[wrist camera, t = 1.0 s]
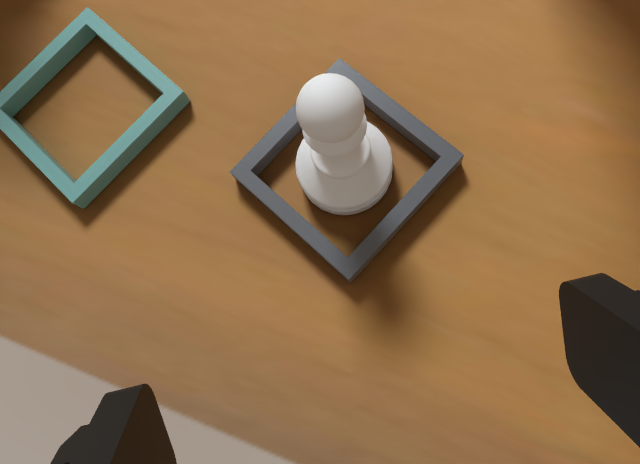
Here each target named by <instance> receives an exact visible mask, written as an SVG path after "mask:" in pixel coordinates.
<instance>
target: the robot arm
mask: <svg viewBox="0 0 640 464" xmlns="http://www.w3.org/2000/svg"><path fill="white" fill-rule="evenodd" d="M559 300H560V309H561V318H562V326H563V335H564V344H565V352H566V359H567V363H568V366H569V369H570V372H571V374H572V376H573V378H574V380H575V381H576V383H577V385H578V386H579V387H580V388H581V389H582V390H583V391H584V392H585V393H586V394H587V395H588V396H589V397H590V398H591V399H592V400H593V401H594V402H595V403H596V404H597V405H598V406H599V407H600V408H601V409H602V410H603V411H604V412H605V413H606V414H607V415H608V416H609V417H610V418H611V419H612V420H613V421H614V422H615V423H616V424H617V425H618V426H619V427H620V428H621V429H622V430H623V431H624V432H625V433H626V434H627V435H628V436H629V437H630V438H631V439H632V440H633V441H634V442H635V443H636V444H637V445H638V446H639V447H640V291H639V290H637V291H634V290H632V289H630V288H629V287H627V286H625V285H623V284H622V283H620V282H618V281H617V280H615V279H613V278H611V277H610V276H608V275H606V274H604V273H599V274H595V275H591V276H586V277H582V278H578V279H574V280H570V281H566V282H563V283H562V284H561V285H560V289H559ZM51 464H177V463H176V458H175V454H174V451H173V448H172V445H171V442H170V439H169V436H168V433H167V431H166V428H165V425H164V422H163V419H162V416H161V413H160V410H159V407H158V404H157V401H156V398H155V396H154V393H153V391H152V389H151V387H150V386H149V385H148V384H142V385H137V386H133V387H129V388H125V389H121V390H117V391H113V392H109V393H106V394H105V395H104V397H103V398H102V400H101V402H100V404H99V406H98V408H97V410H96V412H95V414H94V416H93V418H92V420H91V422H90V424H88V425H84V426H81V427H80V428H79V429H78V430H77V431H76V432H75V433H74V434H73V435H72V436H71V437H70V438H68V439H67V440H66V441H65V442H64V443H63V444H62V445H61V446H60V448H59V449H58V451H57V453H56V455H55V457H54V459H53V460H52V462H51Z"/></svg>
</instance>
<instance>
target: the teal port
mask: <svg viewBox="0 0 640 464" xmlns="http://www.w3.org/2000/svg"><path fill="white" fill-rule="evenodd" d="M96 35H97V36H98V37H99V38H100V39H101V40H102V41H103V42H105V43H106V44H107V45H108V46H109V47H110V48H111V49H112V50H113V51H115V52H116V53H117V54H118V55H119V56H120V57H121V58H122V59H124V60H125V61H126V62H127V63H128V64H129V65H130V66H131V67H132V68H134V69H135V70H136V71H137V72H138V73H139V74H140V75H141V76H143V77H144V78H145V79H146V80H147V81H148V82H149V83H150V84H151V85H153V86H154V87H155V88H156V89H157V90H158V91H159V92H160V93H162V95H161V96H160V97H159V98H158V99H157V100H156V101H155V102H154V103H153V104H152V105H151V106H150V107H149V108H148V109H147V110H146V111H145V112H144V113H143V114H142V115H141V116H140V117H139V118H138V119H137V120H136V121H135V122H134V123H133V124H132V125H131V126H130V127H129V128H128V129H127V130H126V131H125V132H124V133H123V134H122V135H121V136H120V137H119V138H118V139H117V141H116V142H115V143H114V144H113V145H112V146H111V147H110V148H109V149H108V150H107V151H106V152H105V153H104V154H103V155H102V156H101V157H100V158H99V159H98V160H97V161H96V162H95V163H94V164H93V165H92V166H91V167H90V168H89V169H88V170H87V171H86V172H85V173H84V174H83V175H82V176H81V177H80V178H79V179H78V180H77V181H76V180H75V179H74V178H73V177H72V176H71V175H70V174H69V173H68V172H67V171H66V170H65V169H64V168H63V167H62V166H61V165H60V164H59V163H58V162H57V161H56V160H55V159H54V158H53V157H52V156H51V155H50V154H49V153H48V152H47V151H46V150H45V149H44V148H43V147H42V146H41V145H40V144H39V143H38V142H37V141H36V140H35V139H34V138H33V137H32V136H31V135H30V134H29V133H28V132H27V131H26V130H25V129H24V128H23V127H22V126H21V125H20V124H19V123H18V121H17V120H16V119H15V118H14V117H13V116H14V115H15V114H16V113H17V112H18V111H19V110H21V109H22V108H23V107H24V106H25V105H26V104H27V103H28V102H29V101H30V100H31V99H32V98H33V97H34V96H35V95H36V94H37V93H38V92H39V91H40V90H41V89H42V88H43V87H44V86H45V85H46V84H47V83H48V82H49V81H50V80H51V79H52V78H53V77H54V76H55V75H56V74H57V73H58V72H59V71H60V70H61V69H62V68H63V67H65V66H66V65H67V64H68V63H69V62H70V61H71V60H72V59H73V58H74V57H75V56H76V55H77V54H78V53H79V52H80V51H81V50H82V49H83V48H84V47H85V46H86V45H87V44H88V43H89V42H90V41H91V40H92V39H93V38H94V37H95V36H96ZM189 102H190V99H189V98H188V97H187V96H186V94H185V93H184V92H183V91H182V90H181V89H180V88H179V87H178V86H177V85H176V84H174V83H173V82H172V81H171V80H170V79H169V78H168V77H167V76H165V75H164V74H163V73H162V72H161V71H160V70H159V69H157V68H156V67H155V66H154V65H153V64H152V63H151V62H149V61H148V60H147V59H146V58H145V57H144V56H143V55H142V54H140V53H139V52H138V51H137V50H136V49H135V48H134V47H132V46H131V45H130V44H129V43H128V42H127V41H126V40H124V39H123V38H122V37H121V36H120V35H119V34H118V33H117V32H115V31H114V30H113V29H112V28H111V27H110V26H109V25H107V24H106V23H105V22H104V21H103V20H102V19H101V18H99V17H98V16H97V15H96V14H95V13H94V12H93V11H92V10H90V9H89V8H88V7H87V8H86V9H85V10H84V11H83V12H82V13H81V14H80V15H79V16H78V17H77V18H76V19H75V20H74V21H72V22H71V23H70V24H69V25H68V26H67V27H66V28H65V29H64V30H63V31H62V32H61V33H60V34H59V35H58V36H57V37H56V38H55V39H54V40H53V41H52V42H51V43H50V44H49V45H48V46H47V47H46V48H45V49H44V50H43V51H42V52H41V53H39V54H38V55H37V56H36V57H35V58H34V59H33V60H32V61H31V62H30V63H29V64H28V65H27V66H26V67H25V68H24V69H23V70H22V71H21V72H20V73H19V74H18V75H17V76H16V77H15V78H14V79H13V80H12V81H11V82H10V83H9V84H8V85H7V86H5V87H4V88H3V89H2V90H1V91H0V129H1V130H2V131H3V132H4V133H5V134H6V135H7V136H8V137H9V138H10V139H11V141H12V142H13V143H14V144H15V145H16V146H17V147H18V148H19V149H20V150H21V151H22V152H23V153H24V154H25V155H26V156H27V157H28V158H29V159H30V160H31V161H32V162H33V163H34V164H35V165H36V166H37V167H38V168H39V169H40V170H41V171H42V172H43V173H44V175H45V176H46V177H47V178H48V179H49V180H50V181H51V182H52V183H53V184H54V185H55V186H56V187H57V188H58V189H59V190H60V191H61V192H62V193H63V194H64V195H65V196H66V197H67V198H68V199H69V200H70V201H71V202H72V203H73V204H75V205H77V206H79V207H81V208H83V209H85V208H86V207H87V206H88V205H89V203H90V202H91V201H92V200H93V199H94V198H95V197H96V196H97V195H98V194H99V193H100V192H101V191H102V190H103V189H104V188H105V187H106V186H107V185H108V184H109V183H110V182H111V181H112V180H113V179H114V178H115V177H116V176H117V175H118V174H119V173H120V172H121V171H122V170H123V169H124V168H125V167H126V166H127V165H128V164H129V163H130V162H131V161H132V160H133V159H134V158H135V157H136V156H137V155H138V154H139V153H140V152H141V151H142V150H143V149H144V148H145V147H146V146H147V145H148V144H149V143H150V142H151V141H152V140H153V139H154V138H155V137H156V136H157V135H158V134H159V133H160V132H161V131H162V130H163V129H164V128H165V127H166V126H167V125H168V124H169V123H170V122H171V121H172V120H173V118H174V117H175V116H176V115H177V114H178V113H179V112H180V111H181V110H182V109H183V108H184V107H185V106H186V105H187V104H188V103H189Z"/></svg>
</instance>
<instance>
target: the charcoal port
mask: <svg viewBox="0 0 640 464" xmlns="http://www.w3.org/2000/svg"><path fill="white" fill-rule="evenodd" d="M326 73H334V74H339V75H342V76H345V77H347V78H348V79H350V80H351V81H353V82H354V84H355V85H356V86H357V87H358V88H359V90H360V92H361V94H362V96H363V100H364V105H365V106H366V107H367V108H369V109H370V110H371V111H372V112H374V113H375V114H376V115H377V116H379V117H380V118H381V119H382V120H384V121H385V122H386V123H388V124H389V125H390V126H391V127H393V128H394V129H395V130H396V131H398V132H399V133H400V134H401V135H403V136H404V137H405V138H406V139H408V140H409V141H410V142H411V143H413V144H414V145H415V146H417V147H418V148H419V149H420V150H422V151H423V152H424V153H425V154H427V155H428V156H429V157H430V158H432V159H433V160H434V161H435V164H434V165H433V166H432V167H431V168H430V169H429V170H428V171H427V172H426V173H425V174H424V175H423V177H422V178H421V179H420V180H419V181H418V182H417V183H416V184H415V185H414V186H413V187H412V188H411V190H410V191H409V192H408V193H407V194H406V195H405V196H404V197H403V198H402V199H401V200H400V201H399V203H398V204H397V205H396V206H395V207H394V208H393V209H392V210H391V211H390V212H389V213H388V214H387V215H386V217H385V218H384V219H383V220H382V221H381V222H380V223H379V224H378V225H377V226H376V227H375V228H374V230H373V231H372V232H371V233H370V234H369V235H368V236H367V237H366V238H365V239H364V240H363V241H362V243H361V244H360V245H359V246H358V247H357V248H356V249H355V250H354V251H353V252H352V253H351V254H350V256H349V257H347V256H346V255H345V254H343V253H342V252H341V251H340V250H339V249H338V248H337V247H336V246H334V245H333V244H332V243H331V242H330V241H329V240H328V239H327V238H326V237H324V236H323V235H322V234H321V233H320V232H319V231H318V230H317V229H315V228H314V227H313V226H312V225H311V224H310V223H309V222H308V221H306V220H305V219H304V218H303V217H302V216H301V215H300V214H299V213H298V212H296V211H295V210H294V209H293V208H292V207H291V206H290V205H289V204H287V203H286V202H285V201H284V200H283V199H282V198H281V197H280V196H278V195H277V194H276V193H275V192H274V191H273V190H272V189H271V188H270V187H268V186H267V185H266V184H265V183H264V182H263V181H262V180H261V179H259V178H258V177H257V176H258V175H259V174H260V173H261V172H262V171H263V170H264V169H265V168H266V167H267V166H268V165H269V163H270V162H271V161H272V160H273V159H274V158H275V157H276V156H277V155H278V154H279V153H280V152H281V151H282V150H283V149H284V148H285V147H286V146H287V145H288V144H289V143H290V142H291V141H292V140H293V138H294V137H295V136H296V135H297V134H298V133H299V132H300V131H301V130H302V128H301V126H300V124H299V122H298V119H297V115H296V104H295V105H294V106H293V107H292V108H291V109H290V110H289V111H288V112H287V113H286V114H285V115H284V116H283V117H282V118H281V119H280V120H279V121H278V122H277V123H276V124H275V125H274V126H273V127H272V128H271V130H270V131H269V132H268V133H267V134H266V135H265V136H264V137H263V138H262V139H261V140H260V141H259V142H258V143H257V144H256V145H255V146H254V147H253V148H252V149H251V150H250V151H249V152H248V153H247V154H246V155H245V156H244V157H243V159H242V160H241V161H240V162H239V163H238V164H237V165H236V166H235V167H234V168H233V169H232V170H231V171H230V173H231V174H232V176H233V177H234V178H235V179H236V180H237V181H238V182H239V183H240V184H241V185H243V186H244V187H245V188H246V189H247V190H248V191H249V192H250V193H251V194H252V195H254V196H255V197H256V198H257V199H258V200H259V201H260V202H261V203H262V204H263V205H265V206H266V207H267V208H268V209H269V210H270V211H271V212H272V213H273V214H274V215H276V216H277V217H278V218H279V219H280V220H281V221H282V222H283V223H284V224H285V225H287V226H288V227H289V228H290V229H291V230H292V231H293V232H294V233H295V234H297V235H298V236H299V237H300V238H301V239H302V240H303V241H304V242H305V243H306V244H308V245H309V246H310V247H311V248H312V249H313V250H314V251H315V252H316V253H317V254H319V255H320V256H321V257H322V258H323V259H324V260H325V261H326V262H327V263H328V264H330V265H331V266H332V267H333V268H334V269H335V270H336V271H337V272H338V273H340V274H341V275H342V276H343V277H344V278H345V279H346V280H347V281H348V282H349V283H352V282H353V280H354V279H355V278H356V277H357V276H358V275H359V274H360V273H361V272H362V271H363V270H364V268H365V267H366V266H367V265H368V264H369V263H370V262H371V261H372V260H373V259H374V258H375V256H376V255H377V254H378V253H379V252H380V251H381V250H382V249H383V248H384V247H385V246H386V244H387V243H388V242H389V241H390V240H391V239H392V238H393V237H394V236H395V235H396V234H397V233H398V231H399V230H400V229H401V228H402V227H403V226H404V225H405V224H406V223H407V222H408V221H409V219H410V218H411V217H412V216H413V215H414V214H415V213H416V212H417V211H418V210H419V209H420V207H421V206H422V205H423V204H424V203H425V202H426V201H427V200H428V199H429V198H430V197H431V195H432V194H433V193H434V192H435V191H436V190H437V189H438V188H439V187H440V186H441V185H442V184H443V182H444V181H445V180H446V179H447V178H448V177H449V176H450V175H451V174H452V173H453V172H454V170H455V169H456V168H457V167H458V166H459V165H460V164H461V162H462V159H463V156H464V154H462V153H461V152H460V151H458V150H457V149H456V148H455V147H453V146H452V145H451V144H449V143H448V142H447V141H446V140H444V139H443V138H442V137H440V136H439V135H438V134H437V133H435V132H434V131H433V130H431V129H430V128H429V127H428V126H426V125H425V124H424V123H422V122H421V121H420V120H418V119H417V118H416V117H415V116H413V115H412V114H411V113H409V112H408V111H407V110H406V109H404V108H403V107H402V106H400V105H399V104H398V103H397V102H395V101H394V100H393V99H391V98H390V97H389V96H388V95H386V94H385V93H384V92H382V91H381V90H380V89H379V88H377V87H376V86H375V85H373V84H372V83H371V82H370V81H368V80H367V79H366V78H364V77H363V76H362V75H361V74H359V73H358V72H357V71H355V70H354V69H353V68H352V67H350V66H349V65H348V64H346V63H345V62H344V61H343V60H341V59H340V58H339V59H338V60H337V61H336V62H335V63H334V64H333V65H332V66H331V67H330V68H329V69H328V70H327V72H326ZM326 73H325V74H326Z"/></svg>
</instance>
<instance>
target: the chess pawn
mask: <svg viewBox="0 0 640 464" xmlns="http://www.w3.org/2000/svg"><path fill="white" fill-rule="evenodd" d="M364 110H365V107H364V100H363V96H362V94H361V92H360V90H359V88H358V87H357V86H356V85H355V84H354V82H353V81H351V80H350V79H348V78H347V77H345V76H342V75H339V74H334V73H326V74H321V75H318V76H316V77H314V78H312V79H311V80H309V81H308V82H307V83H306V84H305V85H304V86H303V88H302V89H301V91H300V93H299V95H298V97H297V102H296V115H297V119H298V122H299V124H300V126H301V128H302V131H303V136H304V139H303V140H302V142H301V144H300V147H299V149H298V151H297V156H296V162H295V165H296V174H297V177H298V180H299V182H300V185H301V187H302V188H303V191H304V193H305V194H306V195H307V197H308V198H309V199H310V201H311V202H312V203H313V204H315V205H316V206H317V207H319V208H320V209H322V210H324V211H326V212H329V213H332V214H337V215H352V214H358V213H360V212H363V211H365V210H367V209H370V208H371V207H372V206H374V205H375V204H376V203H377V202H379V201H380V199H381V198H382V197H383V196H384V194H385V193H386V192H387V189H388V187H389V185H390V182H391V179H392V171H393V164H392V163H393V159H392V153H391V148H390V146H389V144H388V141H387V139H386V137H385V136H384V135H383V134H382V133H381V132H380V130H379V129H378V128H377V127H375V126H373V125H372V124H370V123H369V122H367V119H366V115H365V113H364Z"/></svg>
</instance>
